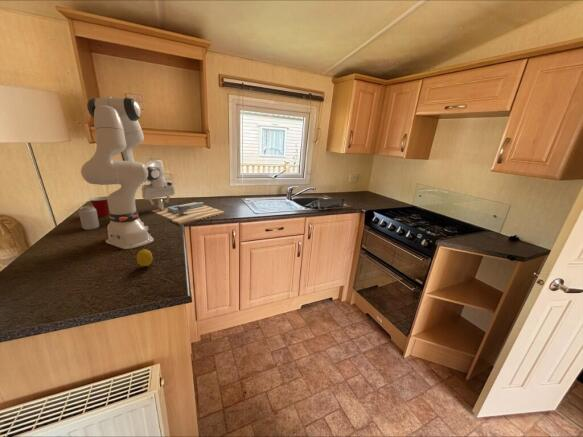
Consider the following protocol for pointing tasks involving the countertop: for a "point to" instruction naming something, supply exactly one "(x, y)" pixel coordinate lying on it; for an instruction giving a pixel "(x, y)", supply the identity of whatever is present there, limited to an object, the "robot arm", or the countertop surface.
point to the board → (190, 214)
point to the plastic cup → (101, 206)
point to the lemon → (144, 257)
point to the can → (88, 217)
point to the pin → (160, 204)
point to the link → (175, 208)
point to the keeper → (183, 209)
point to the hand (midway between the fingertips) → (160, 203)
